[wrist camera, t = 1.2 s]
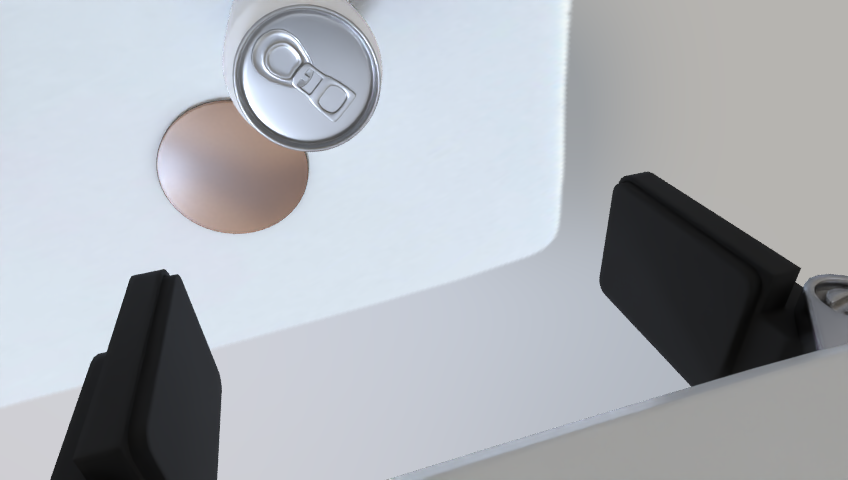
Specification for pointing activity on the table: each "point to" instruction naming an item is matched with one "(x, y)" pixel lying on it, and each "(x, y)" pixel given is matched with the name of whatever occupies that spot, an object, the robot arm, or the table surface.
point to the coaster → (228, 171)
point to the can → (302, 70)
